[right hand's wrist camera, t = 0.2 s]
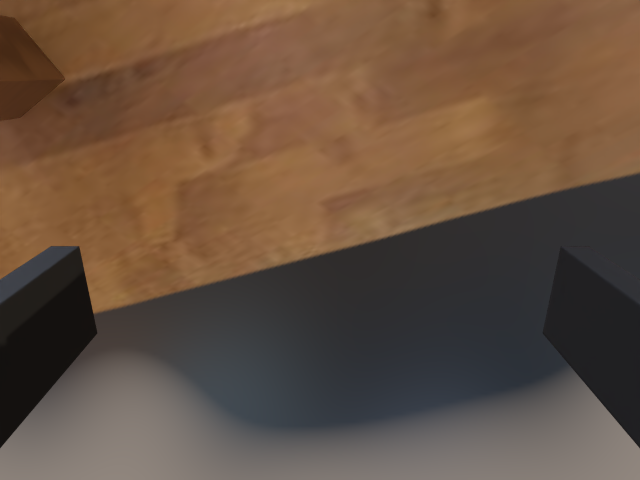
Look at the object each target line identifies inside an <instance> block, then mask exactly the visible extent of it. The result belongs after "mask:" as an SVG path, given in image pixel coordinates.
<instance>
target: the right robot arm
mask: <svg viewBox="0 0 640 480" xmlns="http://www.w3.org/2000/svg"><path fill="white" fill-rule="evenodd" d="M96 334H97V329H96V325H95V320H94V315H93V310H92V305H91V301H90V296H89V291H88V286H87V282H86V277H85V272H84V267H83V262H82V258H81V253H80V248H79V246H51V247H49V248H48V249H46V250H45V251H43V252H42V253H40V254H39V255H37V256H36V257H34V258H32V259H31V260H29V261H28V262H26V263H25V264H23V265H22V266H20V267H19V268H17V269H16V270H14V271H13V272H11V273H10V274H8V275H7V276H5V277H4V278H2V279H1V280H0V448H1V447H2V445H3V444H4V443H5V442H6V441H7V439H8V438H9V437H10V436H11V435H12V433H13V432H14V431H15V430H16V429H17V428H18V426H19V425H20V424H21V423H22V422H23V421H24V419H25V418H26V417H27V416H28V415H29V413H30V412H31V411H32V410H33V409H34V407H35V406H36V405H37V404H38V403H39V402H40V400H41V399H42V398H43V397H44V396H45V395H46V393H47V392H48V391H49V390H50V389H51V387H52V386H53V385H54V384H55V383H56V381H57V380H58V379H59V378H60V377H61V376H62V374H63V373H64V372H65V371H66V370H67V368H68V367H69V366H70V365H71V364H72V363H73V361H74V360H75V359H76V358H77V357H78V355H79V354H80V353H81V352H82V351H83V350H84V348H85V347H86V346H87V345H88V344H89V342H90V341H91V340H92V339H93V338H94V336H95V335H96ZM543 334H544V335H545V336H546V338H547V339H548V340H549V341H550V342H551V344H552V345H553V346H554V347H555V348H556V349H557V351H558V352H559V353H560V354H561V355H562V357H563V358H564V359H565V360H566V361H567V363H568V364H569V365H570V366H571V367H572V368H573V370H574V371H575V372H576V373H577V374H578V376H579V377H580V378H581V379H582V380H583V381H584V383H585V384H586V385H587V386H588V387H589V389H590V390H591V391H592V392H593V393H594V394H595V396H596V397H597V398H598V399H599V400H600V402H601V403H602V404H603V405H604V406H605V407H606V409H607V410H608V411H609V412H610V413H611V415H612V416H613V417H614V418H615V419H616V420H617V422H618V423H619V424H620V425H621V426H622V428H623V429H624V430H625V431H626V432H627V434H628V435H629V436H630V437H631V438H632V439H633V441H634V442H635V443H636V444H637V445H638V447H639V448H640V280H639V279H638V278H636V277H635V276H633V275H632V274H630V273H629V272H627V271H626V270H624V269H623V268H621V267H620V266H618V265H617V264H615V263H614V262H612V261H611V260H609V259H607V258H606V257H604V256H603V255H601V254H600V253H598V252H597V251H595V250H594V249H592V248H591V247H589V246H561V248H560V253H559V258H558V262H557V267H556V272H555V277H554V282H553V286H552V291H551V296H550V301H549V306H548V310H547V315H546V320H545V325H544V329H543Z"/></svg>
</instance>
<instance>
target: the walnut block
mask: <svg viewBox="0 0 640 480" xmlns="http://www.w3.org/2000/svg"><path fill="white" fill-rule="evenodd" d="M63 80H65V78H64V77H63V76H62V74H61V73H60V72H59V71H58V70H57V69H56V67H55V66H54V65H53V64H52V63H51V61H50V60H49V59H48V58H47V57H46V55H45V54H44V53H43V52H42V51H41V49H40V48H39V47H38V46H37V45H36V43H35V42H34V41H33V40H32V39H31V38H30V36H29V35H28V34H27V33H26V32H25V30H24V29H23V28H22V27H21V26H20V24H19V23H18V22H17V21H16V20H15V18H12V17H6V16H0V121H2V120H8V119H14V118H20V117H21V116H22V115H23V114H25V113H26V112H27V111H28V110H29V109H30V108H32V107H33V106H34V105H35V104H36V103H38V102H39V101H40V100H41V99H42V98H43V97H45V96H46V95H47V94H48V93H49V92H50V91H52V90H53V89H54V88H55V87H56V86H58V85H59V84H60V83H61V82H62V81H63Z"/></svg>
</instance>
